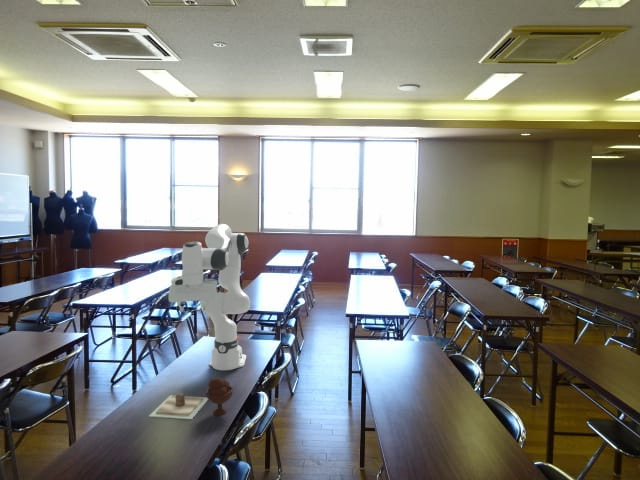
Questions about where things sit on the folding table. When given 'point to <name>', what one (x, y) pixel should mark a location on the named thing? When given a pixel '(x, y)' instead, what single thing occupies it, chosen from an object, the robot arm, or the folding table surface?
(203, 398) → the lid mat
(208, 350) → the folding table surface
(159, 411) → the lid
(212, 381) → the ice cream bowl
